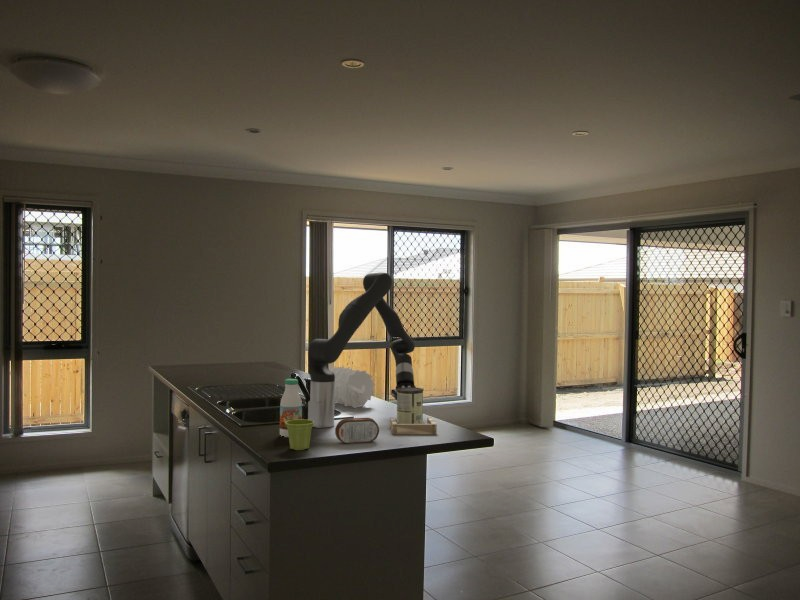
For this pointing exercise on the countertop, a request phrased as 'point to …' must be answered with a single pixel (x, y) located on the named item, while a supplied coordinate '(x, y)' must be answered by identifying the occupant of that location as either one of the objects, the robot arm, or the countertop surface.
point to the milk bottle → (290, 405)
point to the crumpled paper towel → (352, 386)
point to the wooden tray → (413, 427)
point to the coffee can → (409, 405)
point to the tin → (357, 430)
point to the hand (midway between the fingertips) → (407, 409)
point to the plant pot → (299, 433)
